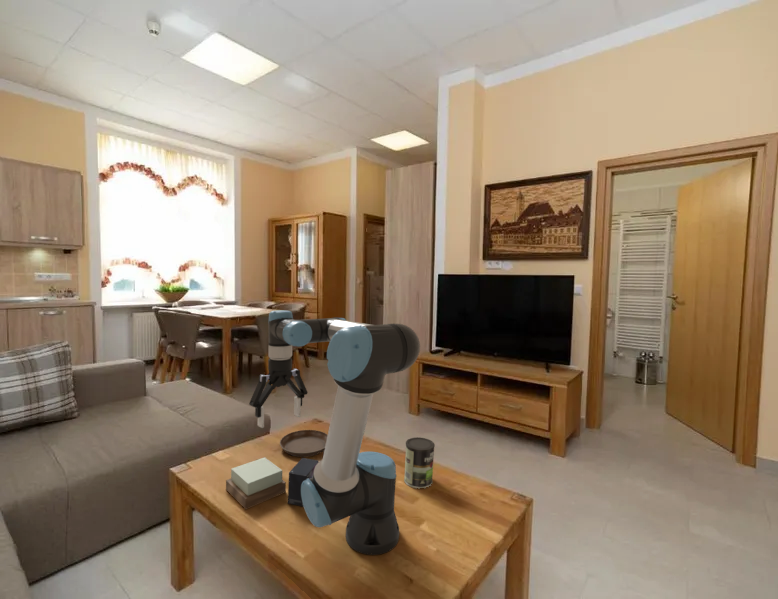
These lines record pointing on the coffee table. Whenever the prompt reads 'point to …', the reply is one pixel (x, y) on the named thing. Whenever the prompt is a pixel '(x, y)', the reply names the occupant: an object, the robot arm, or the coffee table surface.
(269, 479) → the top slab
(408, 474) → the coffee can
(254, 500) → the base slab
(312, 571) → the coffee table surface
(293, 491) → the small box
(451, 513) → the coffee table surface
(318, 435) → the plant saucer
